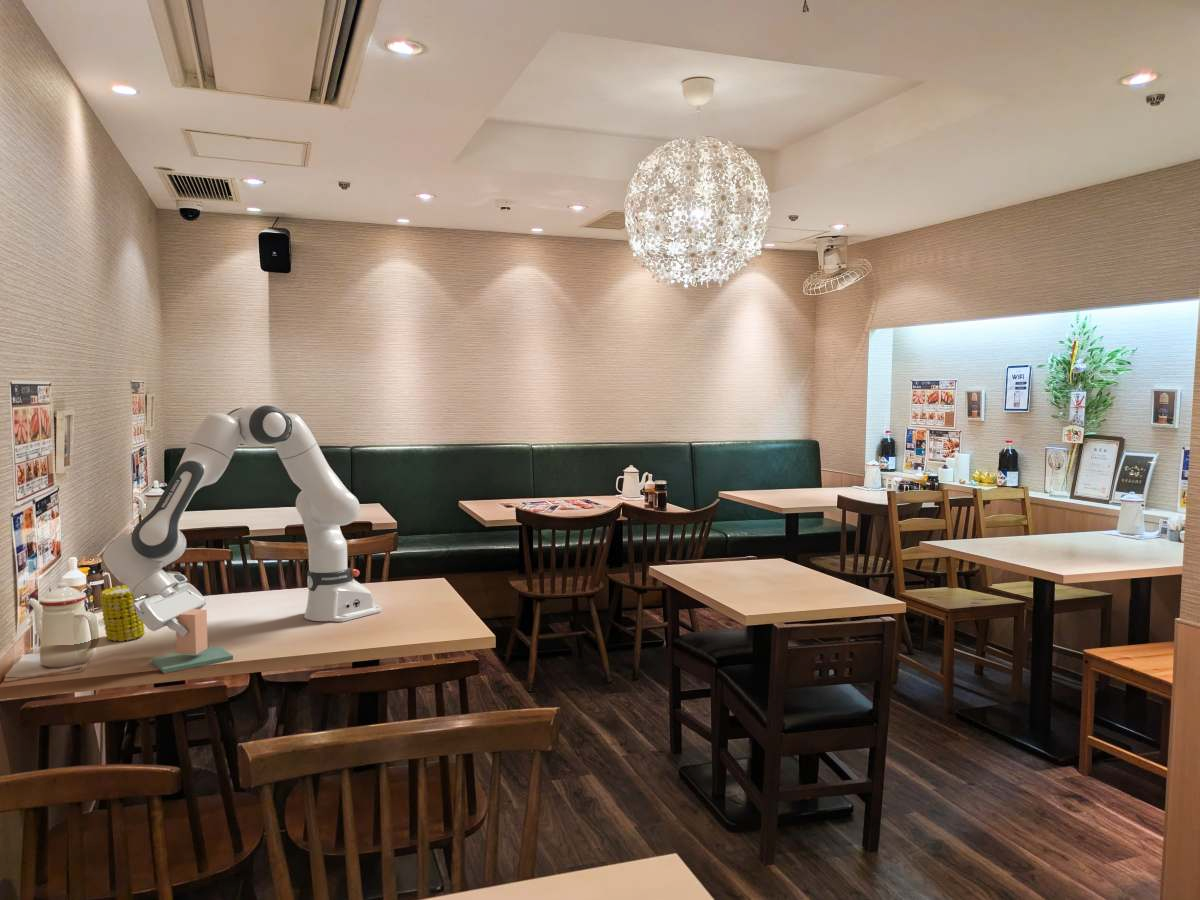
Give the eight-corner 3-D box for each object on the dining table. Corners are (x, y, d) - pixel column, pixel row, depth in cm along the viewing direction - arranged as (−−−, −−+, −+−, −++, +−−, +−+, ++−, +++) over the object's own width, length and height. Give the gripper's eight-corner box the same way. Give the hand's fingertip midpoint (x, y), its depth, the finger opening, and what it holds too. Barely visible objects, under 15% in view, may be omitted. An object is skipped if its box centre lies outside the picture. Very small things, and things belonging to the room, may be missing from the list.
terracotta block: (188, 647, 212) (187, 609, 211) (207, 648, 212) (206, 609, 211) (176, 653, 207) (175, 614, 206) (196, 654, 207) (194, 614, 206)
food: (151, 640, 231) (115, 652, 223) (126, 625, 237) (90, 636, 228) (155, 590, 228) (118, 599, 219) (129, 576, 233) (93, 584, 225)
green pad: (218, 649, 219) (218, 645, 219) (233, 659, 211) (232, 655, 211) (151, 662, 208) (151, 658, 208) (164, 673, 200) (163, 669, 200)
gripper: (137, 591, 199) (177, 633, 198) (187, 573, 219) (224, 611, 219) (120, 609, 199) (160, 651, 199) (172, 589, 220) (208, 627, 219)
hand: (194, 630), depth 209 cm, fingers closed on terracotta block, 5 cm apart
